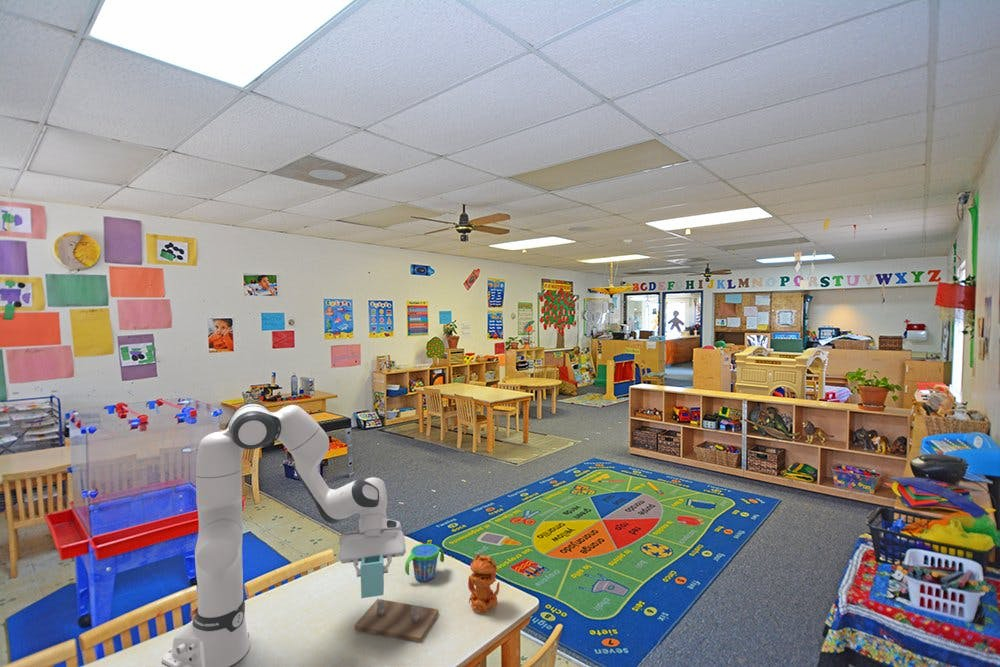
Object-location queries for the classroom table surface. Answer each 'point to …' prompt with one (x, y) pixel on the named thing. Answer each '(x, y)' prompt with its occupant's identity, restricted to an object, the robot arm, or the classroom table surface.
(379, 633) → the pin plate
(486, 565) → the orange animal figurine
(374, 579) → the sleeve block
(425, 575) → the snack cup
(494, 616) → the classroom table surface
